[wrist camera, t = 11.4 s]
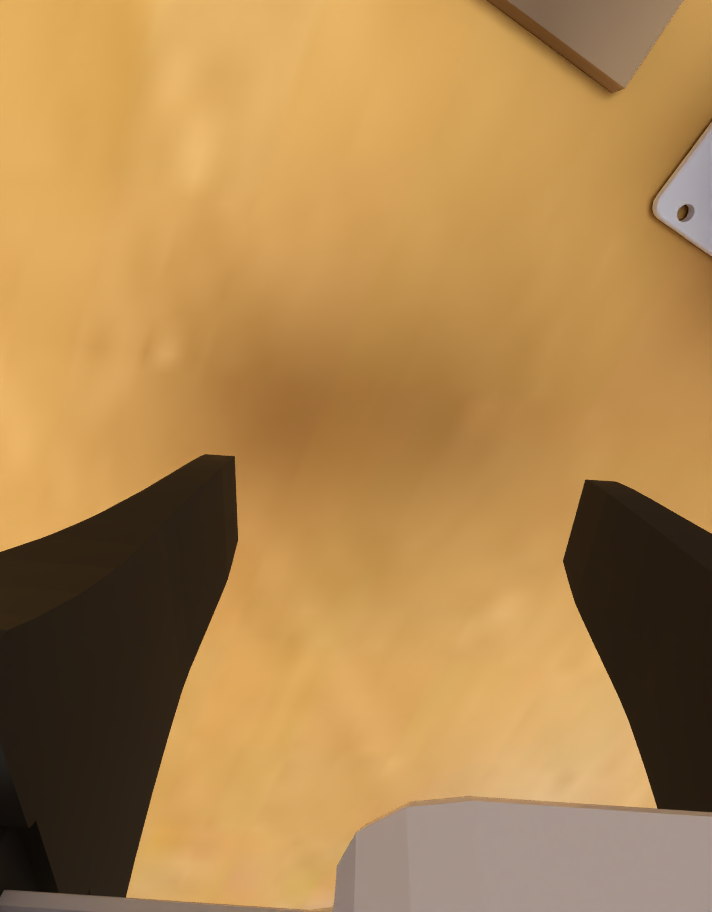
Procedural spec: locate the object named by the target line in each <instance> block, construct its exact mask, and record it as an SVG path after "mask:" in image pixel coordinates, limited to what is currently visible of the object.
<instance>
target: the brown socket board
mask: <svg viewBox="0 0 712 912" xmlns="http://www.w3.org/2000/svg"><path fill="white" fill-rule="evenodd" d="M488 1H489V2H491V3H492V4H493V5H495V6H496V7H497V8H499V9H500V10H501V11H503V12H504V13H505V14H507V15H508V16H509V17H511V18H512V19H514V20H515V21H516V22H518V23H519V24H520V25H522V26H523V27H524V28H526V29H527V30H528V31H530V32H531V33H532V34H534V35H535V36H536V37H538V38H539V39H540V40H542V41H543V42H545V43H546V44H547V45H549V46H550V47H551V48H553V49H554V50H555V51H557V52H558V53H559V54H561V55H562V56H563V57H565V58H566V59H567V60H569V61H570V62H571V63H573V64H574V65H576V66H577V67H578V68H580V69H581V70H582V71H584V72H585V73H586V74H588V75H589V76H590V77H592V78H593V79H594V80H596V81H597V82H598V83H600V84H601V85H602V86H604V87H605V88H606V89H608V90H609V91H611V92H612V93H613V92H616V91H619V90H621V89H624V88H625V87H626V86H627V84H628V83H629V81H630V80H631V78H632V77H633V75H634V74H635V72H636V71H637V69H638V68H639V66H640V65H641V63H642V62H643V60H644V59H645V57H646V56H647V54H648V53H649V51H650V50H651V48H652V47H653V45H654V44H655V42H656V41H657V39H658V38H659V36H660V35H661V33H662V32H663V30H664V29H665V27H666V26H667V24H668V23H669V21H670V20H671V18H672V17H673V15H674V14H675V12H676V11H677V9H678V8H679V6H680V5H681V3H682V2H683V0H488Z"/></svg>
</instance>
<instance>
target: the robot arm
mask: <svg viewBox="0 0 712 912" xmlns="http://www.w3.org/2000/svg"><path fill="white" fill-rule="evenodd" d="M685 204H686V205H687V206H688V211H689V212H688V214H687V216H686V217H685V218H684V219H683V220H681V221H679V220H678V218H677V212H678V210H679V208H680V207H682V206H683V205H685ZM652 209H653V213H654V215H655V216H656V217H657V219H659V220H660V221H662V222H663V223H664V224H666V225H667V226H669V227H670V228H672V229H673V230H674V231H676V232H677V233H679V234H680V235H682V236H683V237H684V238H686V239H687V240H689V241H690V242H691V243H693V244H694V245H696V246H697V247H699V248H700V249H701V250H703V251H704V252H706V253H707V254H709V255H710V256H711V257H712V122H711V123H710V125H709V126H708V127H707V129H706V130H705V131H704V133H703V134H702V135H701V137H700V138H699V139H698V141H697V142H696V143H695V145H694V146H693V148H692V149H691V150H690V152H689V153H688V154H687V156H686V157H685V158H684V160H683V161H682V162H681V164H680V165H679V166H678V168H677V169H676V170H675V172H674V173H673V174H672V176H671V177H670V178H669V180H668V181H667V182H666V184H665V185H664V186H663V188H662V189H661V190H660V192H659V193H658V194H657V196H656V198H655V200H654V201H653V207H652ZM237 542H238V526H237V502H236V478H235V456H222V455H207V454H205V455H203V456H200V457H198V458H197V459H195V460H193V461H191V462H189V463H188V464H186V465H184V466H183V467H181V468H179V469H178V470H176V471H174V472H173V473H171V474H170V475H168V476H166V477H164V478H163V479H161V480H159V481H158V482H156V483H154V484H153V485H151V486H149V487H148V488H146V489H144V490H143V491H141V492H139V493H137V494H135V495H133V496H131V497H130V498H128V499H126V500H124V501H122V502H120V503H118V504H116V505H115V506H113V507H111V508H109V509H107V510H105V511H103V512H101V513H99V514H97V515H95V516H93V517H91V518H89V519H86V520H84V521H82V522H80V523H78V524H75V525H73V526H70V527H68V528H66V529H63V530H61V531H58V532H56V533H54V534H51V535H49V536H46V537H43V538H41V539H38V540H35V541H32V542H29V543H26V544H23V545H20V546H17V547H14V548H11V549H8V550H5V551H2V552H0V912H712V534H711V533H709V532H708V531H706V530H704V529H702V528H700V527H699V526H697V525H695V524H693V523H692V522H690V521H688V520H686V519H685V518H683V517H681V516H679V515H678V514H676V513H674V512H673V511H671V510H669V509H667V508H666V507H664V506H662V505H660V504H659V503H657V502H655V501H653V500H652V499H650V498H648V497H646V496H644V495H642V494H641V493H639V492H637V491H635V490H633V489H631V488H629V487H627V486H625V485H622V484H620V483H618V482H613V481H598V480H585V483H584V487H583V490H582V494H581V498H580V501H579V505H578V509H577V512H576V516H575V519H574V523H573V527H572V530H571V534H570V538H569V541H568V545H567V549H566V552H565V556H564V559H563V563H564V567H565V570H566V574H567V578H568V581H569V585H570V588H571V591H572V595H573V598H574V601H575V604H576V606H577V608H578V611H579V613H580V615H581V617H582V619H583V622H584V624H585V626H586V628H587V630H588V632H589V635H590V637H591V639H592V641H593V643H594V645H595V647H596V650H597V652H598V654H599V656H600V658H601V660H602V662H603V664H604V667H605V669H606V671H607V673H608V675H609V677H610V679H611V681H612V684H613V686H614V688H615V690H616V692H617V694H618V696H619V699H620V701H621V703H622V706H623V708H624V711H625V713H626V715H627V718H628V720H629V723H630V726H631V729H632V732H633V735H634V737H635V740H636V743H637V746H638V749H639V752H640V755H641V758H642V761H643V764H644V767H645V769H646V773H647V776H648V779H649V782H650V785H651V789H652V792H653V795H654V798H655V802H656V805H657V808H658V809H653V808H638V807H623V806H608V805H593V804H578V803H563V802H548V801H533V800H518V799H503V798H488V797H473V796H465V797H455V798H445V799H434V800H424V801H414V802H409V803H407V804H405V805H403V806H401V807H399V808H397V809H395V810H393V811H391V812H389V813H387V814H385V815H383V816H381V817H379V818H377V819H375V820H373V821H371V822H369V823H367V824H366V825H365V826H363V827H362V828H361V829H360V830H358V831H357V832H356V833H355V835H354V837H353V839H352V840H351V842H350V844H349V846H348V848H347V849H346V851H345V853H344V855H343V856H342V858H341V860H340V862H339V864H338V865H337V873H336V886H335V899H334V905H333V907H330V908H322V909H315V910H301V909H286V908H271V907H256V906H241V905H226V904H211V903H196V902H181V901H166V900H151V899H137V898H126V894H127V890H128V886H129V882H130V878H131V874H132V869H133V865H134V861H135V857H136V853H137V850H138V846H139V842H140V838H141V834H142V830H143V827H144V823H145V819H146V815H147V811H148V808H149V804H150V800H151V796H152V792H153V789H154V785H155V782H156V778H157V775H158V771H159V767H160V764H161V760H162V757H163V753H164V750H165V746H166V743H167V739H168V736H169V732H170V729H171V726H172V722H173V719H174V716H175V712H176V709H177V706H178V702H179V699H180V696H181V693H182V689H183V687H184V684H185V681H186V679H187V676H188V673H189V671H190V668H191V666H192V663H193V661H194V659H195V656H196V654H197V651H198V649H199V647H200V644H201V642H202V640H203V637H204V635H205V633H206V630H207V628H208V625H209V623H210V621H211V618H212V616H213V614H214V611H215V609H216V607H217V604H218V602H219V599H220V597H221V594H222V592H223V590H224V587H225V585H226V582H227V580H228V576H229V573H230V569H231V565H232V562H233V558H234V554H235V550H236V546H237Z"/></svg>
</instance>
